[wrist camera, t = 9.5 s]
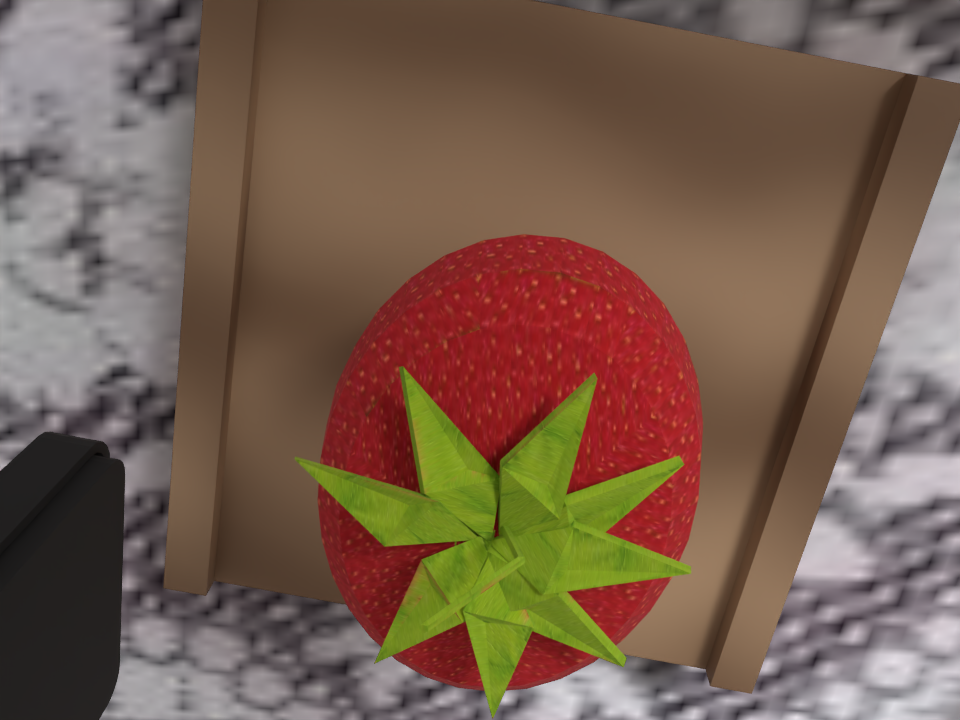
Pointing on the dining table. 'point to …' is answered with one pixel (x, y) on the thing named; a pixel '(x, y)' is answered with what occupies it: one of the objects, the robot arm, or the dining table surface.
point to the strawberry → (511, 464)
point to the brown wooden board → (544, 212)
